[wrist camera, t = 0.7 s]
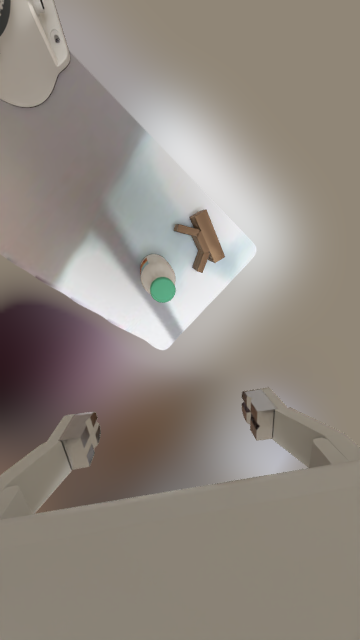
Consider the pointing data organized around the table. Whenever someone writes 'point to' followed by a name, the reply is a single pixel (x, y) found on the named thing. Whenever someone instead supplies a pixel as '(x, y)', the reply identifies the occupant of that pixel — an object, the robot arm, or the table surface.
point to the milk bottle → (158, 278)
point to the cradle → (203, 239)
